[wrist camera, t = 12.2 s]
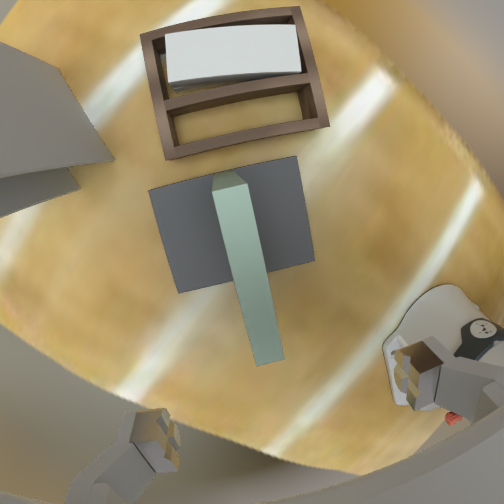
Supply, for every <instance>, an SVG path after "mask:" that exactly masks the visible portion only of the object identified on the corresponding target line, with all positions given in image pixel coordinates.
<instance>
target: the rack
mask: <svg viewBox="0 0 504 504" xmlns="http://www.w3.org/2000/svg"><path fill="white" fill-rule="evenodd" d="M243 25H295V26H296V33H297V40H298V48H299V55H300V63H301V72H300V73H299V74H295V75H287V76H280V77H273V78H266V79H260V80H254V81H248V82H243V83H237V84H232V85H227V86H222V87H217V88H213V89H208V90H204V91H200V92H195V93H191V94H187V95H183V96H179V97H176V98H172V99H169V97H168V93H167V88H166V83H165V78H164V73H163V68H162V63H161V58H160V54H164V53H166V44H165V34H169V33H176V32H182V31H189V30H197V29H206V28H216V27H228V26H243ZM140 38H141V44H142V50H143V55H144V61H145V66H146V71H147V76H148V82H149V87H150V92H151V96H152V101H153V106H154V111H155V115H156V120H157V125H158V129H159V133H160V138H161V142H162V147H163V151H164V155H165V159H166V161H167V160H174V159H177V158H181V157H185V156H189V155H193V154H197V153H201V152H205V151H209V150H213V149H217V148H222V147H226V146H231V145H235V144H240V143H244V142H249V141H254V140H259V139H264V138H269V137H274V136H280V135H285V134H291V133H297V132H303V131H309V130H315V129H320V128H325V127H330V124H329V119H328V114H327V109H326V105H325V100H324V96H323V91H322V87H321V83H320V79H319V75H318V71H317V67H316V63H315V59H314V55H313V51H312V47H311V44H310V40H309V36H308V33H307V29H306V26H305V22H304V19H303V16H302V12H301V9H300V6H293V7H279V8H268V9H259V10H250V11H243V12H236V13H230V14H223V15H218V16H212V17H207V18H202V19H197V20H193V21H188V22H184V23H180V24H176V25H172V26H168V27H164V28H160V29H157V30H153V31H150V32H146V33H143V34H140ZM293 92H297V93H298V97H299V101H300V106H301V110H302V115H303V120H299V121H293V122H287V123H281V124H275V125H270V126H264V127H259V128H254V129H249V130H244V131H239V132H235V133H230V134H225V135H221V136H217V137H212V138H208V139H204V140H200V141H196V142H192V143H188V144H184V145H180V146H179V142H178V138H177V134H176V129H175V125H174V120H173V117H174V116H178V115H182V114H186V113H190V112H194V111H198V110H202V109H206V108H211V107H215V106H220V105H224V104H229V103H234V102H239V101H244V100H249V99H255V98H261V97H266V96H273V95H279V94H286V93H293Z"/></svg>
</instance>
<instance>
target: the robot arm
mask: <svg viewBox="0 0 504 504" xmlns="http://www.w3.org/2000/svg"><path fill="white" fill-rule="evenodd" d="M383 352H384V357H385V361H386V366H387V371H388V375H389V380H390V385H391V390H392V395H393V400H394V402H395V403H396V404H397V405H409V404H410V406H411V407H412V409H413V410H414V411H416V410H418V409H419V410H421V411H431V410H435V409H438V408H441V407H443V408H445V409H447V410H449V411H451V412H449V413H447V414H446V415H445V419H446V422H447V424H449V425H450V426H451V425H453V424H454V423H455V422H457V421H460V420H461V419H462V416H463V417H465V418H467V420H468V421H469V422H470V423H471V425H470V426H469V427H467V428H466V429H464V430H462V431H460V432H458V433H456V434H454V435H453V436H451V437H449V438H447V439H446V440H443V441H441V442H439V443H437V444H435V445H433V446H431V447H430V448H427V449H425V450H423V451H421V452H419V453H417V454H415V455H412V456H410V457H408V458H406V459H403V460H401V461H399V462H396V463H394V464H392V465H389V466H387V467H384V468H382V469H379V470H377V471H374V472H371V473H368V474H366V475H363V476H360V477H357V478H354V479H351V480H349V481H345V482H342V483H339V484H336V485H332V486H329V487H326V488H322V489H318V490H315V491H311V492H307V493H303V494H299V495H295V496H290V497H286V498H281V499H276V500H271V501H266V502H260V503H254V504H504V329H503V328H502V327H500V326H499V325H497V324H495V323H493V322H491V321H490V320H489V319H488V318H487V317H486V316H485V315H484V314H483V313H482V312H481V311H480V310H479V307H478V306H477V305H476V304H475V303H473V302H471V301H470V300H469V298H468V297H467V296H466V295H465V293H464V292H463V291H462V290H461V289H460V288H459V287H457V286H455V285H451V284H446V285H441V286H437V287H435V288H433V289H431V290H429V291H428V292H426V293H425V294H424V295H422V296H421V297H420V298H419V299H418V300H417V301H416V302H415V303H414V304H413V305H412V307H411V308H410V309H409V310H408V312H407V313H406V315H405V317H404V318H403V320H402V322H401V324H400V325H399V327H398V328H397V330H396V331H395V332H394V333H393V334H392V335H391V336H389V338H388V339H387V340H386V341H385V342H384V344H383ZM179 448H180V436H179V432H178V429H177V427H176V425H175V423H173V422H171V421H170V414H169V412H168V411H167V409H166V408H157V409H147V410H139V411H126V412H125V413H124V415H123V418H122V421H121V425H120V428H119V432H118V435H117V439H116V443H115V444H111V445H110V446H109V447H108V448H107V449H106V450H104V451H103V452H102V453H101V454H100V455H99V456H98V457H97V458H96V459H95V460H94V461H92V462H91V463H90V464H89V465H88V466H87V467H86V468H84V469H83V470H82V471H81V472H80V473H79V474H78V475H77V476H76V477H74V478H73V479H72V481H71V484H70V487H69V490H68V493H67V496H66V500H65V503H64V504H135V502H136V501H137V500H138V498H139V497H140V496H141V494H142V493H143V492H144V490H145V489H146V487H147V486H148V485H149V483H150V482H151V481H152V479H153V478H154V477H155V475H156V473H163V472H174V471H178V466H179V456H178V454H177V453H176V451H177V450H178V449H179ZM0 504H57V503H51V502H46V501H40V500H36V499H32V498H27V497H23V496H19V495H15V494H11V493H8V492H5V491H1V490H0Z"/></svg>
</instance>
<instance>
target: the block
mask: <svg viewBox="0 0 504 504" xmlns="http://www.w3.org/2000/svg"><path fill="white" fill-rule="evenodd" d="M212 194H213V198H214V202H215V207H216V211H217V215H218V219H219V223H220V227H221V231H222V235H223V239H224V243H225V247H226V251H227V255H228V259H229V263H230V267H231V271H232V275H233V279H234V283H235V287H236V291H237V295H238V299H239V303H240V306H241V310H242V314H243V318H244V322H245V325H246V329H247V333H248V337H249V341H250V344H251V348H252V352H253V355H254V359H255V363H256V366H260V365H264V364H268V363H272V362H276V361H280V360H284V359H285V358H284V353H283V348H282V343H281V339H280V334H279V329H278V324H277V319H276V315H275V310H274V305H273V300H272V296H271V291H270V286H269V281H268V277H267V272H266V267H265V263H264V258H263V253H262V249H261V244H260V239H259V235H258V230H257V225H256V221H255V216H254V211H253V207H252V202H251V198H250V193H249V188H248V184H247V183H246V182H245V181H244V180H243V179H242V178H241V177H240V176H239V175H237V174H236V173H235V172H234V171H233V170H230V171H225V172H221V173H217V174H213V185H212Z"/></svg>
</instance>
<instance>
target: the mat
mask: <svg viewBox="0 0 504 504" xmlns="http://www.w3.org/2000/svg"><path fill="white" fill-rule="evenodd" d="M230 170H233V171H234V172H235V173H236V174H237V175H239V176H240V177H241V178H242V179H243V180H244V181H245V182H246V183H247V184H248V188H249V193H250V198H251V202H252V207H253V211H254V216H255V221H256V225H257V230H258V235H259V239H260V244H261V249H262V253H263V258H264V263H265V267H266V272H272V271H276V270H280V269H284V268H288V267H292V266H296V265H300V264H304V263H308V262H312V261H315V258H314V252H313V245H312V239H311V233H310V227H309V221H308V215H307V210H306V204H305V198H304V193H303V187H302V182H301V177H300V172H299V166H298V161H297V156H292V157H287V158H282V159H277V160H272V161H267V162H262V163H258V164H253V165H248V166H244V167H239V168H235V169H230ZM230 170H226V171H230ZM222 172H225V171H222ZM218 173H221V172H218ZM213 174H217V173H213ZM213 174H209V175H205V176H201V177H197V178H193V179H189V180H185V181H181V182H178V183H174V184H170V185H166V186H163V187H159V188H155V189H152V190H149V195H150V199H151V203H152V206H153V210H154V214H155V217H156V221H157V225H158V228H159V232H160V235H161V239H162V242H163V245H164V249H165V252H166V255H167V259H168V262H169V265H170V268H171V272H172V275H173V278H174V281H175V284H176V287H177V290H178V294H179V293H183V292H187V291H192V290H196V289H200V288H205V287H209V286H213V285H217V284H222V283H226V282H230V281H234V279H233V275H232V271H231V267H230V263H229V259H228V255H227V251H226V247H225V243H224V239H223V235H222V231H221V227H220V223H219V219H218V215H217V211H216V207H215V202H214V198H213V194H212V185H213Z"/></svg>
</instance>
